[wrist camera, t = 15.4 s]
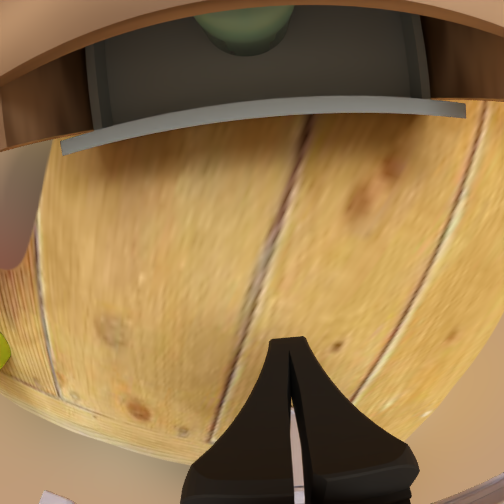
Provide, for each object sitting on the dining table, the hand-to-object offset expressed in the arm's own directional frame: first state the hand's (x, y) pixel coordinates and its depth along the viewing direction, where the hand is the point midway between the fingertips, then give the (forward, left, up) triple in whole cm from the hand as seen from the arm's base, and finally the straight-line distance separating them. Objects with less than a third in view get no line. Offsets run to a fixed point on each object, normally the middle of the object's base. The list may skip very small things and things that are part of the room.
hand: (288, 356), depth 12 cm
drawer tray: (+14, +4, -10) cm, 18 cm away
